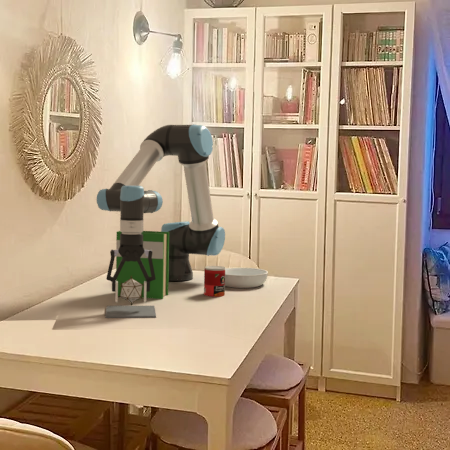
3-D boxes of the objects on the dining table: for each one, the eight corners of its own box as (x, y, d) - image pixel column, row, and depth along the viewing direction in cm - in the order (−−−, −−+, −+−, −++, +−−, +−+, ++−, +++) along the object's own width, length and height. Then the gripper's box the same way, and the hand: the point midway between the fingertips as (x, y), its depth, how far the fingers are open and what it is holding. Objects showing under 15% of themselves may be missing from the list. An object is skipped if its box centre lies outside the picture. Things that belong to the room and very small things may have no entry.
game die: (139, 308, 229) (139, 278, 228) (114, 307, 230) (114, 277, 229) (147, 303, 237) (147, 273, 236) (123, 302, 239) (123, 272, 238)
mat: (106, 307, 241) (106, 305, 241) (154, 307, 243) (154, 305, 243) (105, 317, 225) (105, 316, 225) (156, 317, 227) (156, 315, 227)
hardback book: (168, 296, 263) (169, 231, 261) (162, 300, 256) (163, 233, 253) (122, 293, 266) (123, 229, 264) (115, 297, 259) (116, 231, 257)
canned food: (216, 299, 259) (217, 269, 258) (199, 296, 264) (200, 267, 263) (229, 296, 265) (229, 267, 264) (212, 293, 270) (212, 265, 269)
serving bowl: (236, 281, 299) (237, 265, 298) (277, 288, 286) (278, 271, 285) (204, 287, 283) (204, 270, 282) (246, 294, 270) (246, 277, 269)
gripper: (97, 233, 226) (97, 303, 229) (165, 234, 229) (163, 303, 231) (98, 231, 234) (98, 299, 236) (163, 232, 237) (162, 299, 239)
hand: (130, 301), depth 234 cm, fingers closed on game die, 9 cm apart
